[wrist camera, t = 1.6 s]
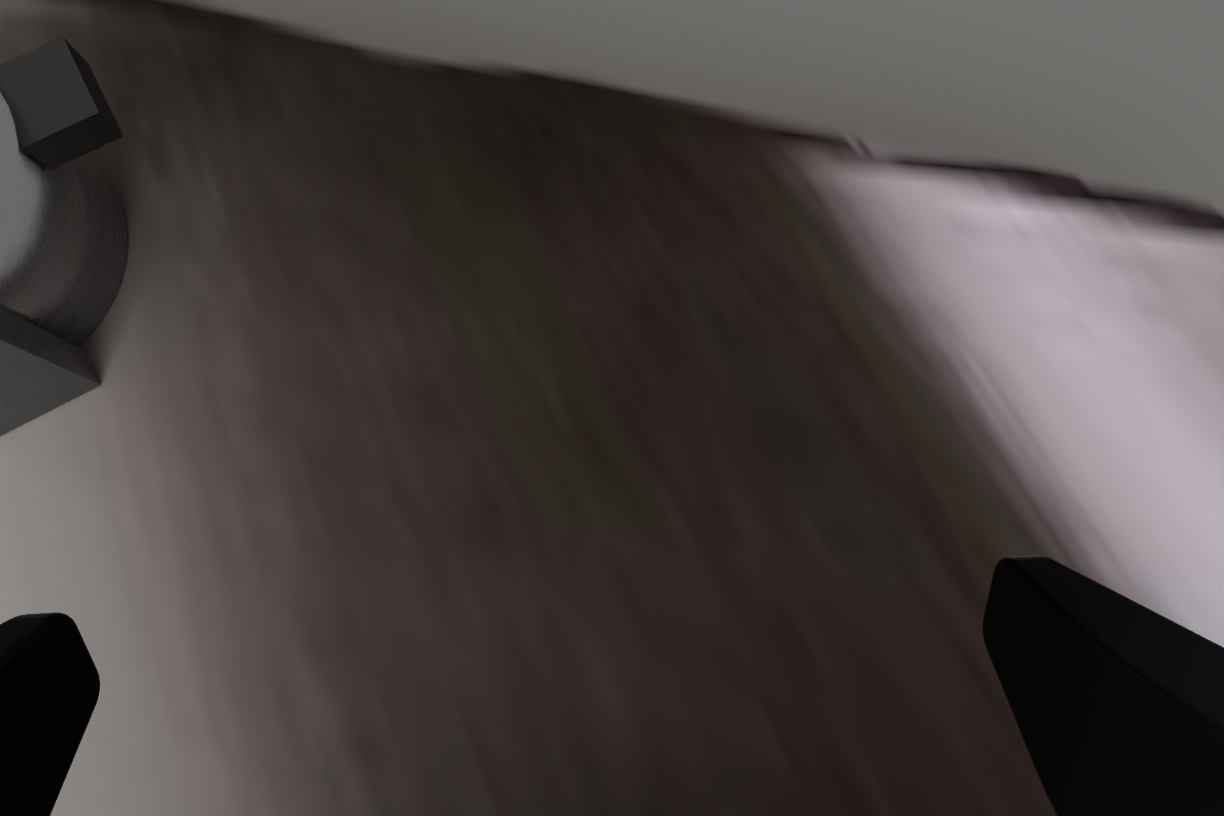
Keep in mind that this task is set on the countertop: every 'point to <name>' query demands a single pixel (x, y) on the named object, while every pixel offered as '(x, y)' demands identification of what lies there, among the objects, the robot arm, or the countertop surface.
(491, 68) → the countertop surface
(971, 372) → the countertop surface
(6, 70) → the pot
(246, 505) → the countertop surface
